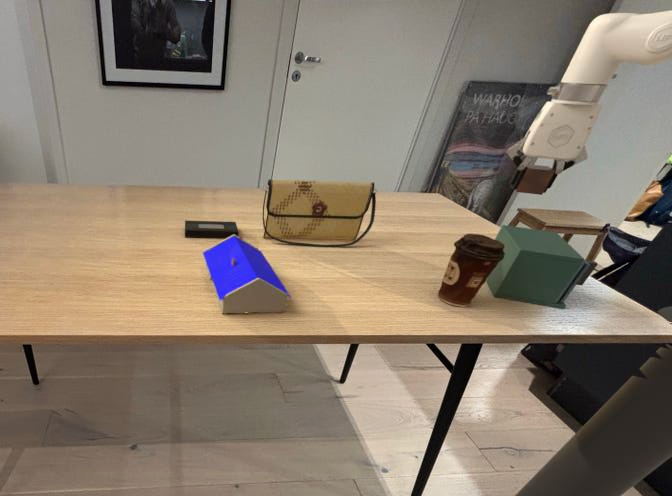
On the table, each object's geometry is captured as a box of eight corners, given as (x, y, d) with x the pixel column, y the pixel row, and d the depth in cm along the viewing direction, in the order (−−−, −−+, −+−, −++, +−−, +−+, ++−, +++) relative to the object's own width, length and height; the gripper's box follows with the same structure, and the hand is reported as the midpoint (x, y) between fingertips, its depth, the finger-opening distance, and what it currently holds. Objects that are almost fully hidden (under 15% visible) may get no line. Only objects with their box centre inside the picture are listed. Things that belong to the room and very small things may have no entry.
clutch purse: (259, 245, 102) (268, 184, 93) (255, 235, 108) (263, 177, 98) (370, 248, 103) (390, 188, 94) (360, 238, 109) (378, 180, 99)
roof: (202, 265, 91) (203, 234, 87) (259, 263, 93) (263, 233, 89) (218, 314, 74) (221, 279, 70) (288, 311, 76) (295, 277, 72)
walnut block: (535, 189, 91) (548, 166, 88) (542, 194, 87) (555, 170, 84) (511, 186, 92) (522, 163, 89) (516, 192, 89) (528, 168, 86)
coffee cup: (431, 303, 81) (460, 243, 72) (428, 286, 87) (455, 229, 79) (478, 313, 78) (514, 251, 70) (472, 295, 84) (505, 236, 76)
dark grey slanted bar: (573, 290, 85) (599, 253, 80) (587, 306, 79) (616, 268, 74) (547, 285, 86) (572, 249, 81) (559, 302, 81) (586, 264, 75)
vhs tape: (184, 227, 111) (185, 220, 109) (234, 228, 111) (235, 221, 110) (185, 237, 105) (185, 230, 103) (237, 238, 105) (238, 231, 104)
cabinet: (541, 277, 92) (569, 234, 86) (564, 309, 81) (599, 261, 74) (479, 267, 95) (502, 224, 89) (493, 296, 84) (521, 249, 77)
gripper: (533, 93, 78) (488, 189, 89) (638, 99, 73) (576, 199, 85) (523, 91, 84) (482, 181, 95) (620, 96, 79) (565, 190, 90)
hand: (527, 188), depth 90 cm, fingers closed on walnut block, 5 cm apart
